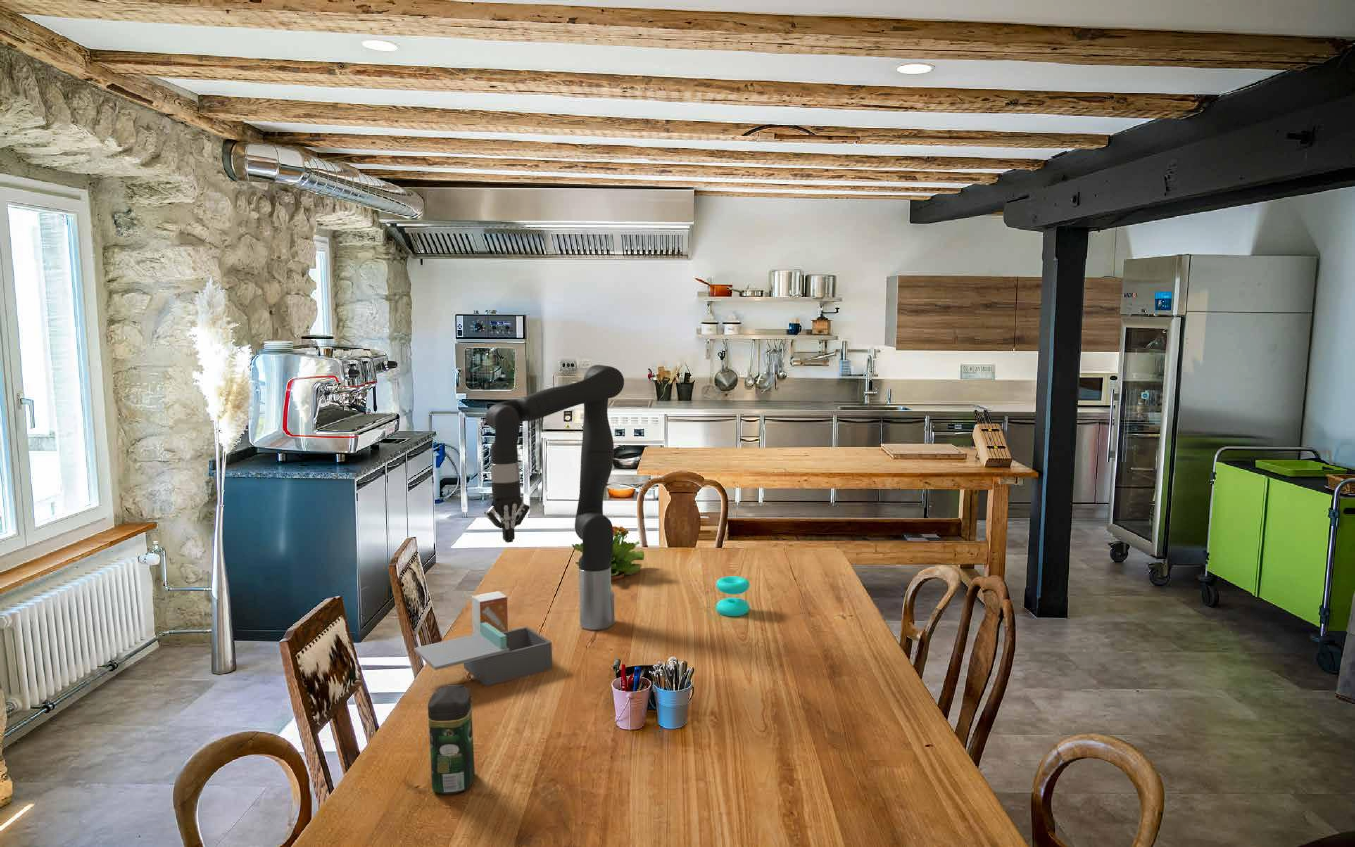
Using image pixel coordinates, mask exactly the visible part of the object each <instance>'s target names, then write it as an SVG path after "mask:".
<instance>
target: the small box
mask: <svg viewBox="0 0 1355 847" xmlns="http://www.w3.org/2000/svg"><path fill="white" fill-rule="evenodd" d="M471 610H472V611H471V613H472V614H471V620H472V621H471V622H472V635H473V634H478V633H481V623H485V622H487V623H489V624H490V625H491V626H493V627H494V628H496V629H497V630H499V631H500V632H506V631H509V620H508V619H509V618H508V617H509V616H508V614H509V612H508V596H506V595H505V594H504V593H502V592H501V591H500V590H497V591H493V592H486V593H481V594H477V595H476V594H475V595H471Z"/></svg>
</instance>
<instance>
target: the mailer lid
mask: <svg viewBox="0 0 1355 847" xmlns="http://www.w3.org/2000/svg"><path fill="white" fill-rule="evenodd" d="M413 649H414V650H413V651H414V653H416V654H417V655H418V657H420V658H421V659H422V660H423V661H425V663H427V664H428V665H429V666H430V667H431V668H432V669H433V670H434V671H437V670H442V669H446V668H450V667H455V666H457V665H462V664H463V665H464V663H467V662H471V661H475V660H479V659H483V658H487V657H491V656H495V655H499V654H503V653H507V652H510V649H509V648H508V647H507V646H506V635H504V634H503V633H502V632H500V631H499V630H497V629H496V628H494V627H493V626H491V625H490V624H489V623H487V622H485V623H481V633H478V634H473V633H472V634H470V635H464V636H460V637H457V638H451V639H448V640H447V639H446V640H444V641H443V640H442V641H438V642H435V643H431V644H426V645H422V646H420V645H419V646H417V647H414V648H413Z"/></svg>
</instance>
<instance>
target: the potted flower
mask: <svg viewBox="0 0 1355 847" xmlns="http://www.w3.org/2000/svg"><path fill="white" fill-rule="evenodd" d="M612 526H613V557H612V560H611V581H615V580H620V579H622V578H624V577H625V575H627V576H632V575H633V574H636V573H638V572H639V571H640V570H641V567H642V564H640V563H633V562H635V561H644V559H645V552H644V551H643V550H638V551H635V549H636V547H637V545H640V544H641V543H640V540H637V541H636V542H627V541H624V540H625V539H627V538H628V536H627V535H629V530H627V529H626V528H625V527H623V526H622V525H620V526H615V525H612ZM571 546H572V548H573V550H574V551H578V552H580V553H582V550H583V542H581V543H580V544H579V543H575V544H574V543H571ZM574 563H575V564H576V565H577V566H578V567H579V561H576V562H574Z"/></svg>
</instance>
